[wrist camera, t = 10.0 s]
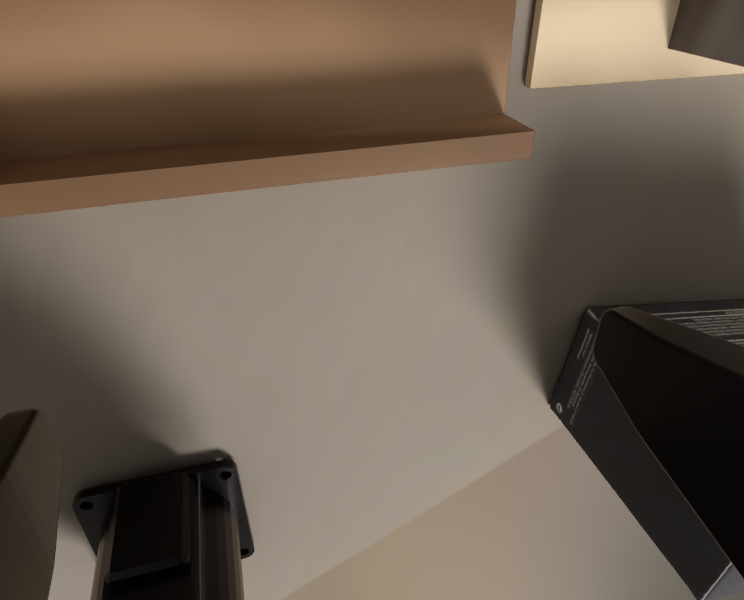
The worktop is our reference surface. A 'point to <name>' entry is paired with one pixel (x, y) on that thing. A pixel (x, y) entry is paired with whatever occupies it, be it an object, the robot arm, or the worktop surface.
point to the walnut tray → (244, 95)
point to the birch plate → (633, 41)
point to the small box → (635, 460)
